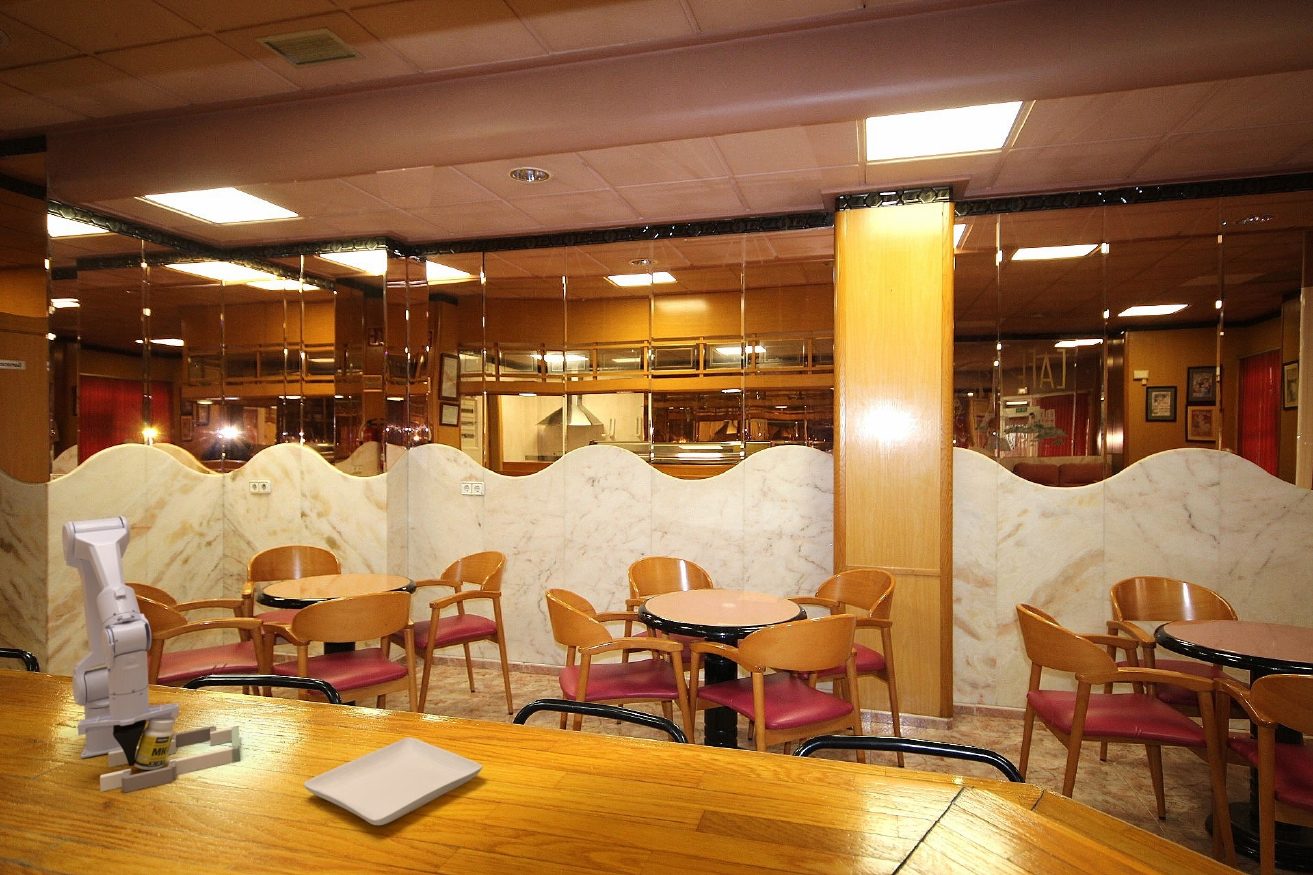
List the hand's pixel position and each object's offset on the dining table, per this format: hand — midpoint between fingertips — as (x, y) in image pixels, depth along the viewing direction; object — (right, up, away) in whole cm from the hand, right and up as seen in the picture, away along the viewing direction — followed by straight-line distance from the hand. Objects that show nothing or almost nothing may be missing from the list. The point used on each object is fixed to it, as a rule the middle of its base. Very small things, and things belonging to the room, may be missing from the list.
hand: (132, 763), depth 131 cm
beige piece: (+5, -1, +3) cm, 6 cm away
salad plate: (+50, -2, -8) cm, 51 cm away
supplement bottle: (+2, -1, +1) cm, 3 cm away
